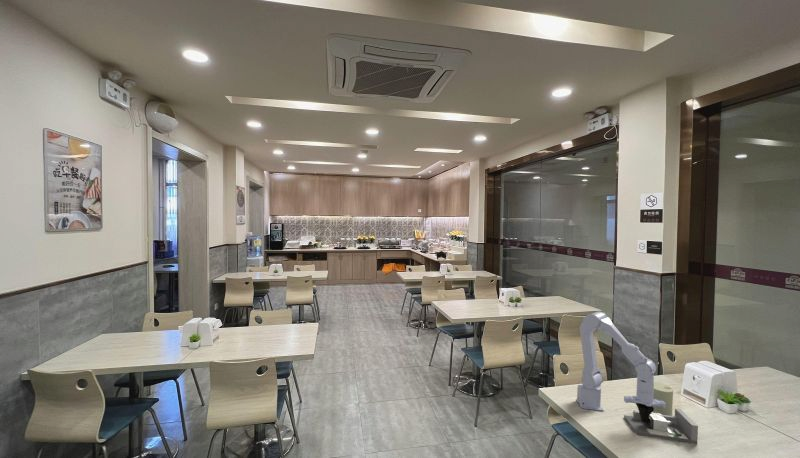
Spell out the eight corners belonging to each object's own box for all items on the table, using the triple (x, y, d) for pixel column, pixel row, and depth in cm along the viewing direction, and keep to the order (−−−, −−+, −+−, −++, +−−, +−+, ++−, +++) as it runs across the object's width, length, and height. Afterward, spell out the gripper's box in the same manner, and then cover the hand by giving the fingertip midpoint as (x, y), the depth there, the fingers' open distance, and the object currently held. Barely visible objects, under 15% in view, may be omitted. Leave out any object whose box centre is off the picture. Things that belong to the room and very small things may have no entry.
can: (677, 418, 147) (678, 392, 147) (653, 416, 149) (654, 389, 149) (665, 407, 156) (666, 382, 156) (643, 404, 158) (644, 379, 158)
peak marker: (677, 436, 132) (677, 433, 132) (673, 431, 135) (673, 428, 135) (681, 436, 132) (681, 434, 132) (676, 431, 135) (676, 429, 135)
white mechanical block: (654, 434, 134) (655, 424, 134) (643, 420, 143) (644, 411, 143) (681, 438, 132) (681, 428, 132) (668, 424, 141) (668, 414, 141)
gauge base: (636, 434, 136) (636, 417, 136) (624, 417, 148) (624, 401, 147) (697, 444, 131) (698, 425, 131) (679, 425, 142) (680, 409, 142)
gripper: (629, 391, 138) (628, 423, 138) (670, 396, 134) (668, 429, 135) (622, 383, 145) (621, 414, 145) (661, 388, 141) (659, 419, 142)
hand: (643, 421), depth 140 cm, fingers closed
